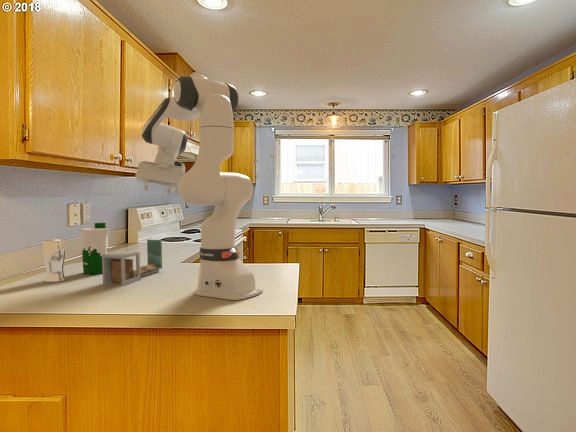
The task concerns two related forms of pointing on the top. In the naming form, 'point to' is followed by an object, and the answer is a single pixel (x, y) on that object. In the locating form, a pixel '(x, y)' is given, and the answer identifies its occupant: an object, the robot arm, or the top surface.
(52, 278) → the beer glass
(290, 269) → the top surface
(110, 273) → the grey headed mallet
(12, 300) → the top surface
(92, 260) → the milk carton
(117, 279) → the walnut block
